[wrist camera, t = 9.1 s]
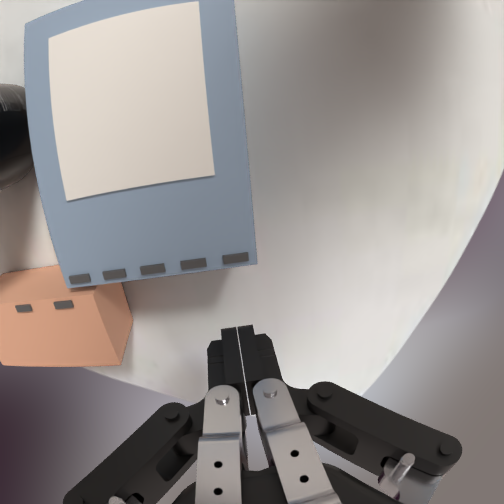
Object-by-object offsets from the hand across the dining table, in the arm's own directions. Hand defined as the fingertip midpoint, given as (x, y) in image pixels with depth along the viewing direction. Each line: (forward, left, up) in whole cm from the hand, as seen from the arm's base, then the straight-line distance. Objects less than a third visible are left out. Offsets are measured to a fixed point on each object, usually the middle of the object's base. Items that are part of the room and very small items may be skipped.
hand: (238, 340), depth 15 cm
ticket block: (+4, -10, -7) cm, 13 cm away
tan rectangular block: (+12, 0, -7) cm, 14 cm away
